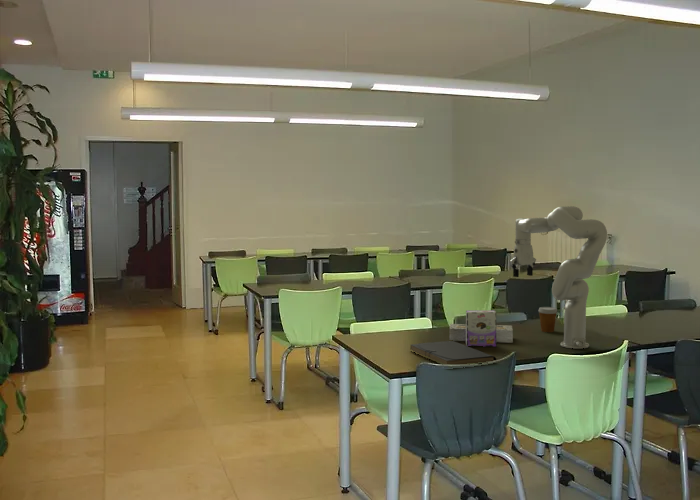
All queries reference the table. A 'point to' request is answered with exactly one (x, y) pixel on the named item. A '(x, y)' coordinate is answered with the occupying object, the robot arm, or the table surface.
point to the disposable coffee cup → (547, 318)
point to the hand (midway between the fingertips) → (522, 276)
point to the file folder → (451, 352)
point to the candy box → (481, 328)
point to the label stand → (502, 333)
